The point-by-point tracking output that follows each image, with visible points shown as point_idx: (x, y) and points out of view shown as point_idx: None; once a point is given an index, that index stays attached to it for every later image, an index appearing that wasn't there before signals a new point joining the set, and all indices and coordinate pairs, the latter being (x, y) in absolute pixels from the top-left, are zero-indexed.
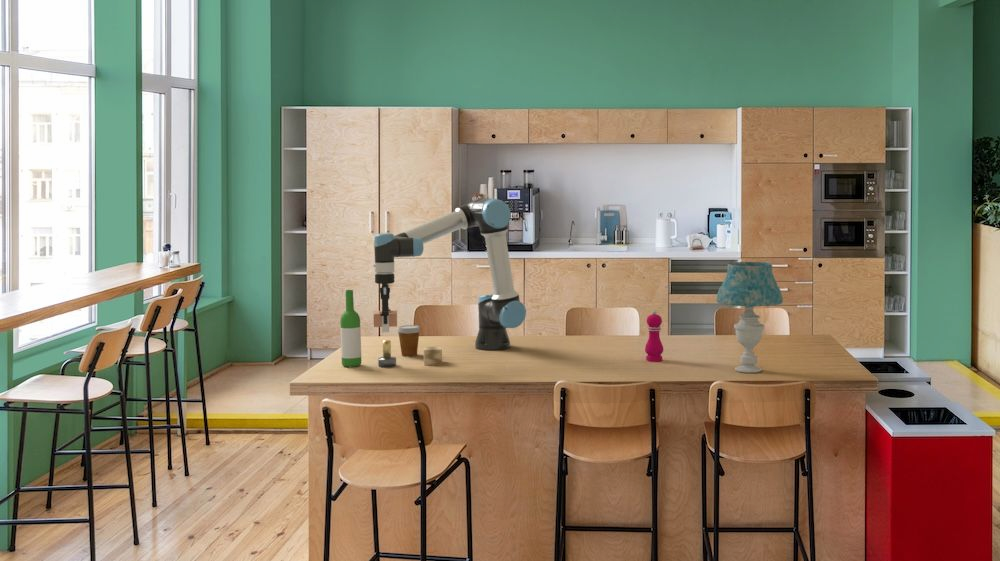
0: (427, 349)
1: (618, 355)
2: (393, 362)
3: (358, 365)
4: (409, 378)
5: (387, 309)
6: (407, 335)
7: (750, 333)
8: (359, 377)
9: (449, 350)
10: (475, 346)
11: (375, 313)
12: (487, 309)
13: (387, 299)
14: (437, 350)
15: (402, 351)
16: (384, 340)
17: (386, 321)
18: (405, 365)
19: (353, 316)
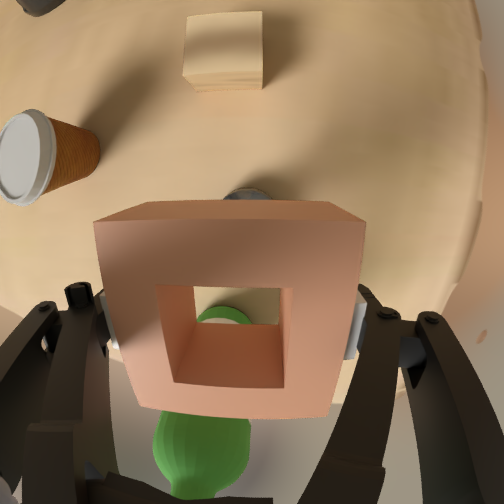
0: (248, 57)
1: None
2: (271, 199)
3: (241, 312)
4: (449, 165)
5: (453, 346)
6: (60, 155)
7: None
8: (400, 299)
9: (51, 56)
10: (49, 9)
11: (288, 409)
12: None
13: (492, 427)
14: (261, 26)
15: (83, 175)
16: None
17: (370, 298)
18: (252, 154)
19: (236, 463)
